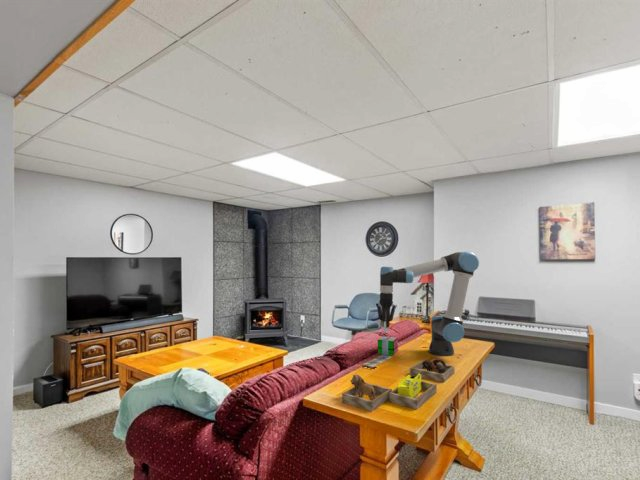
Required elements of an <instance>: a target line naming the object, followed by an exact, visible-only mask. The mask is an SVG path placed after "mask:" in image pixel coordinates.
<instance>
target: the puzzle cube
mask: <svg viewBox="0 0 640 480" xmlns="http://www.w3.org/2000/svg"><path fill="white" fill-rule="evenodd" d="M384 338H386V339H387V340H388V355H389V356H395V355H396V354H397V353H398V352H399V346H398V345H399V339H398V337H391V336H381V337H379V338H378V339H377V354H379V355H380V354H381V355H382V340H383V339H384Z"/></svg>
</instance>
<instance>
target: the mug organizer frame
mask: <svg viewBox="0 0 640 480" xmlns="http://www.w3.org/2000/svg"><path fill="white" fill-rule="evenodd" d="M423 361H424V360H421V361H419V362H417V363H416V364H414V365H413V366H411V367H410V368H409V375H410V376H411V377H412V376H415V377H416V376H417V375H418V374H419V373H420V375H421V379H427V380H431V381H436V382H440V383H445V382H446V381H447V380H448V379H450V378H451V377H452V376H453V375H454V374H455V368H456V367H455V365H450V364H446V371H445V372H444V373H443V374H440V373H435V371H431V370H430V371H429V370H428V371H427V370H426V369H425V368H424V367H423V365H422V362H423ZM425 365H426V366H427V364H425ZM436 366H437V367H439V368H444V365H443V364H442V363H440V362H439V363H437V364H436Z"/></svg>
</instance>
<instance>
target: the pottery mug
mask: <svg viewBox="0 0 640 480" xmlns="http://www.w3.org/2000/svg"><path fill="white" fill-rule="evenodd" d="M437 363H439V364H443V365H444V368H439V367H437V366H436V364H437ZM425 364H427V366H426V365H425ZM422 365H423V367H424V368H423V369H424V370H425V371H430V372H431V371H434V372H435V373H440V374H443V373H444V372H445V371H446V365H447V364H446V362H445V361H444V360H442V359H440V358H433V359H432V360H430V361H429V360H423V362H422Z"/></svg>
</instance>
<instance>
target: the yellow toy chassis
mask: <svg viewBox="0 0 640 480" xmlns="http://www.w3.org/2000/svg"><path fill="white" fill-rule="evenodd" d="M421 381H422V378H421V375H420V373H419V374H418V375H417V376H412V375H410V374H408V375H407V376H406V377H404V378H403V379H402V380H401V381H400V382H398V383H399V384H398V386H397V387H398V394H399V395H403V396H407V397H410V398H414V399H416V398H417V397H419V393H420V392H421V391H422V390H421Z"/></svg>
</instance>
